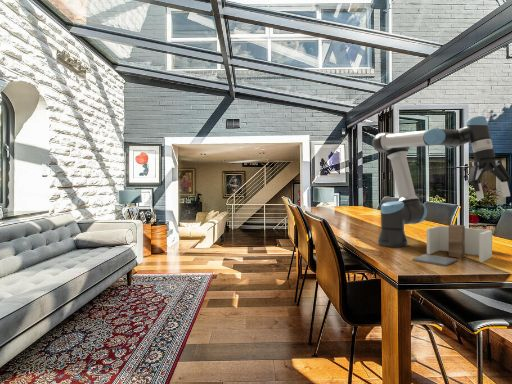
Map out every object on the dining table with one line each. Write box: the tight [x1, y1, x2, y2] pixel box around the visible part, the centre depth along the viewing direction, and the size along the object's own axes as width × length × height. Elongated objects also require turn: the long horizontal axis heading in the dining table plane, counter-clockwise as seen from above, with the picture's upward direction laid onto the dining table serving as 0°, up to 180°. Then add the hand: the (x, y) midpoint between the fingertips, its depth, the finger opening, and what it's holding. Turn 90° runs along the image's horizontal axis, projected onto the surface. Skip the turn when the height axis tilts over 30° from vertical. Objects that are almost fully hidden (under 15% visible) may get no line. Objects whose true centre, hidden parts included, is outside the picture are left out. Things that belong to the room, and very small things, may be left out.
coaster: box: [411, 253, 457, 267], centre depth 140 cm, size 13×13×1 cm
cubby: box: [426, 225, 493, 263], centre depth 148 cm, size 14×22×12 cm, turn 40°
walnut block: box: [448, 224, 466, 259], centre depth 147 cm, size 5×5×14 cm
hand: (493, 197), depth 139 cm, fingers open, 13 cm apart
